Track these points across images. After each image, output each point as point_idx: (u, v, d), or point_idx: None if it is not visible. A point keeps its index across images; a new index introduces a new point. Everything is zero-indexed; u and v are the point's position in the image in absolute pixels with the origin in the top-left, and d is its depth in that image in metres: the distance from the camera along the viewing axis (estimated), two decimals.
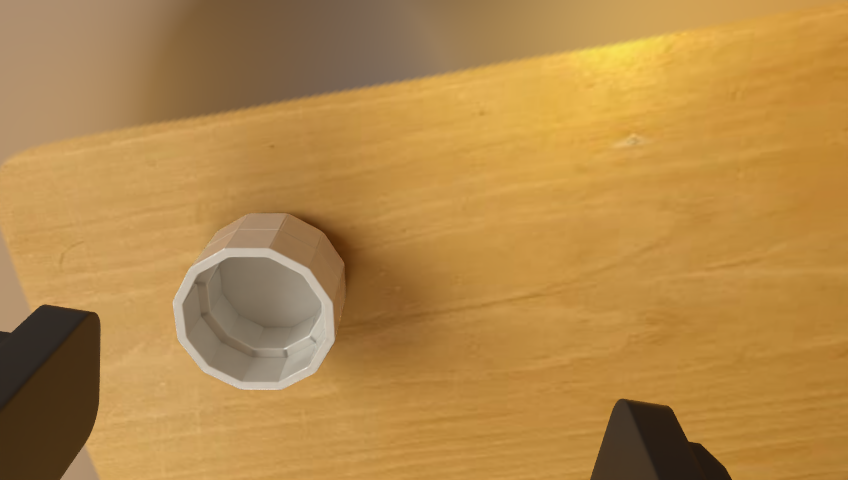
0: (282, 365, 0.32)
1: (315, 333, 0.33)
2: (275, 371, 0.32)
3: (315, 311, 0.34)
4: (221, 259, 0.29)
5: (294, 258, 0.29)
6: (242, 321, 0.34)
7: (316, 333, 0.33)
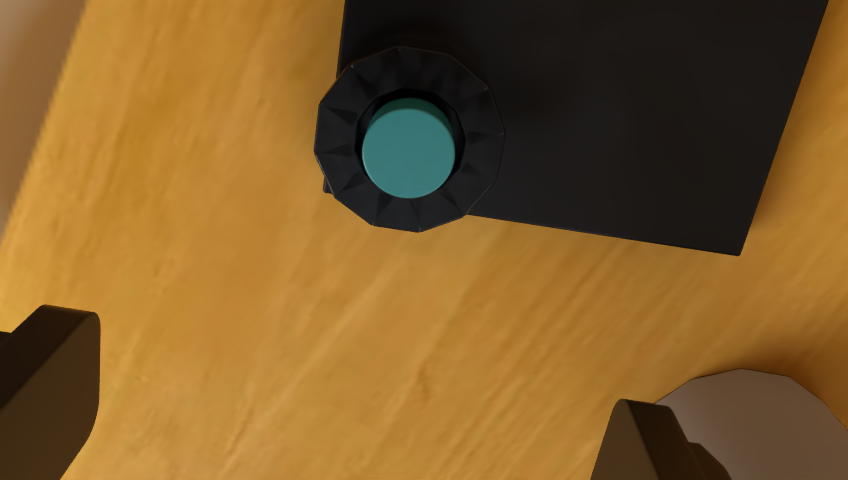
0: None
1: None
2: None
3: None
4: None
5: None
6: None
7: None
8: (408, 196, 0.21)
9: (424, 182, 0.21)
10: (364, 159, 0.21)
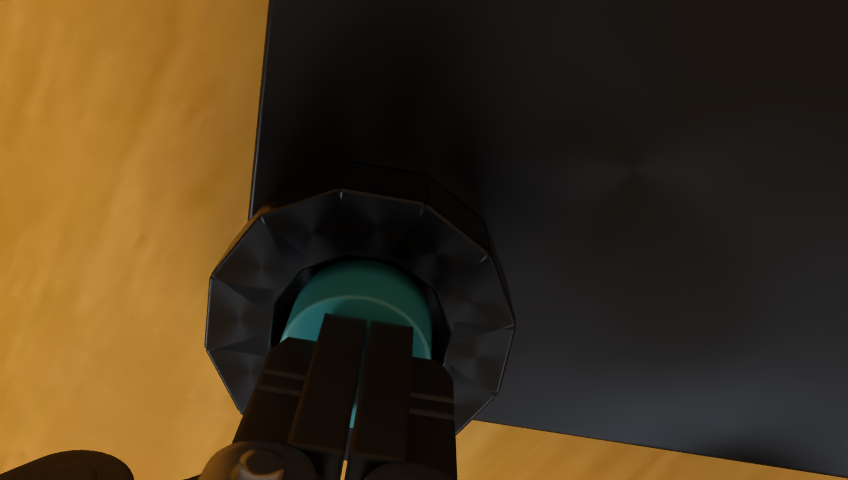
0: None
1: None
2: None
3: None
4: None
5: None
6: None
7: None
8: None
9: None
10: None
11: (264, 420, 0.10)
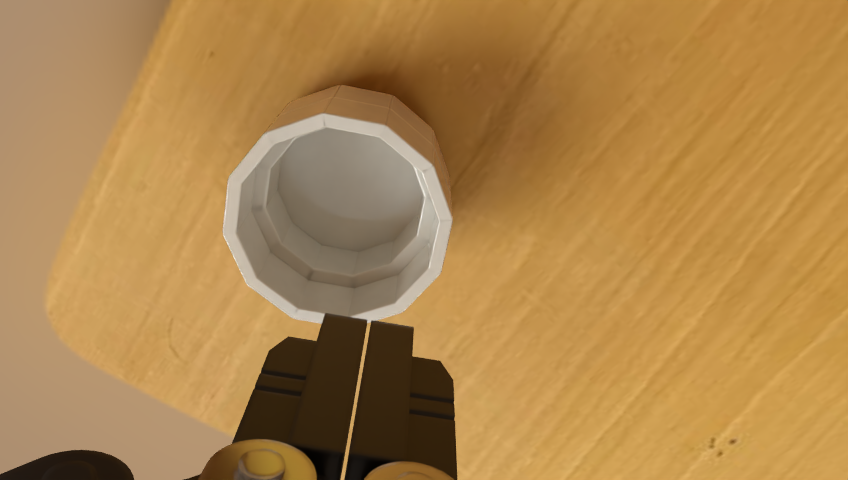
0: (426, 252, 0.23)
1: (428, 188, 0.23)
2: (422, 263, 0.23)
3: None
4: (237, 193, 0.21)
5: (300, 118, 0.20)
6: (365, 253, 0.26)
7: None
8: None
9: None
10: None
11: (264, 420, 0.10)
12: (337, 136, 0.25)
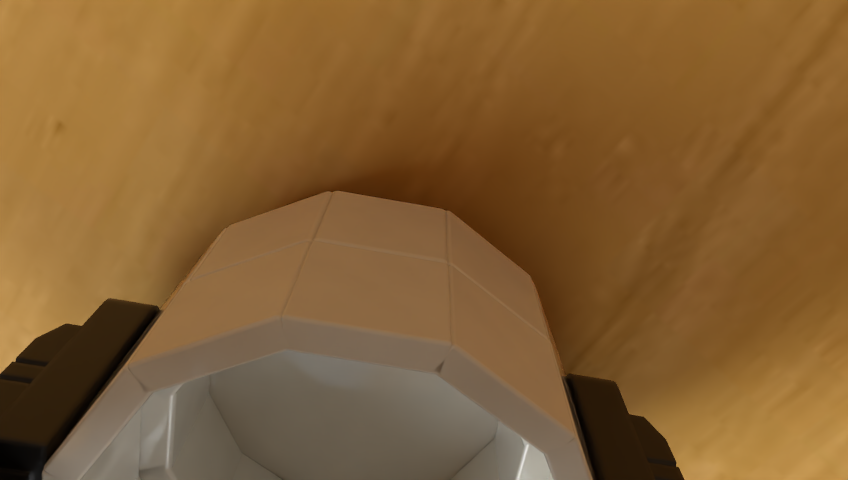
0: None
1: None
2: None
3: None
4: None
5: (221, 326, 0.08)
6: None
7: None
8: None
9: None
10: None
11: None
12: None
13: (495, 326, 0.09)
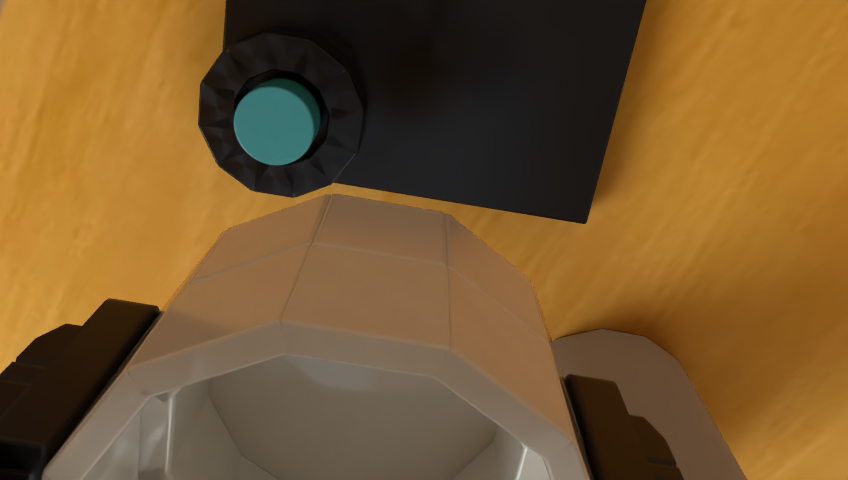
0: None
1: None
2: None
3: None
4: None
5: (220, 330, 0.08)
6: None
7: None
8: (275, 163, 0.25)
9: (288, 151, 0.25)
10: (235, 130, 0.24)
11: None
12: None
13: (494, 330, 0.09)
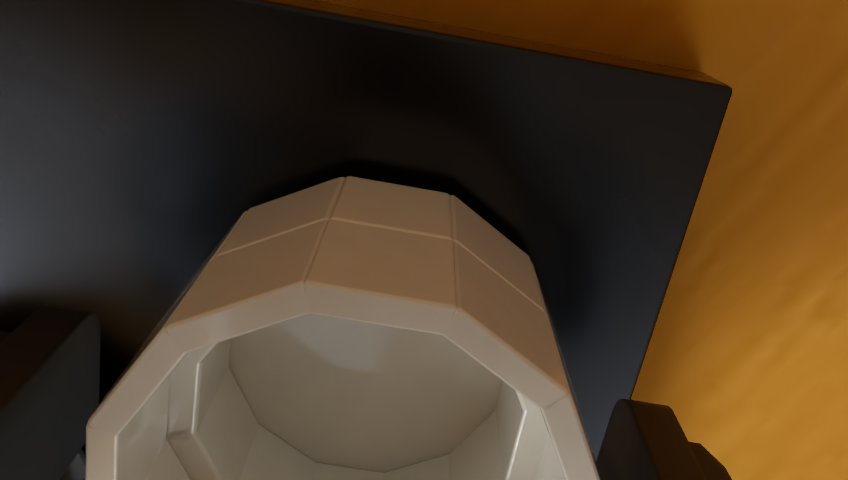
0: None
1: None
2: None
3: None
4: (110, 456, 0.09)
5: (250, 292, 0.08)
6: None
7: None
8: None
9: None
10: None
11: None
12: None
13: (496, 296, 0.09)
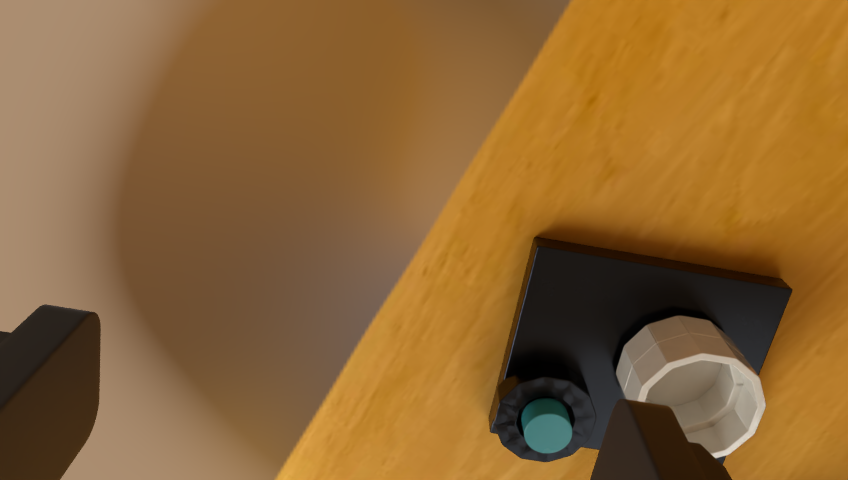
0: (737, 416, 0.39)
1: (737, 379, 0.39)
2: (738, 425, 0.39)
3: (719, 363, 0.41)
4: (646, 393, 0.37)
5: (687, 354, 0.37)
6: (681, 408, 0.42)
7: (738, 379, 0.39)
8: (546, 452, 0.41)
9: (555, 446, 0.41)
10: (525, 435, 0.41)
11: None
12: None
13: (737, 354, 0.38)
